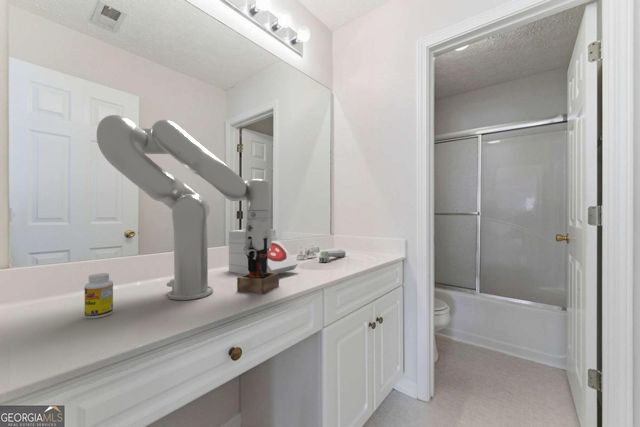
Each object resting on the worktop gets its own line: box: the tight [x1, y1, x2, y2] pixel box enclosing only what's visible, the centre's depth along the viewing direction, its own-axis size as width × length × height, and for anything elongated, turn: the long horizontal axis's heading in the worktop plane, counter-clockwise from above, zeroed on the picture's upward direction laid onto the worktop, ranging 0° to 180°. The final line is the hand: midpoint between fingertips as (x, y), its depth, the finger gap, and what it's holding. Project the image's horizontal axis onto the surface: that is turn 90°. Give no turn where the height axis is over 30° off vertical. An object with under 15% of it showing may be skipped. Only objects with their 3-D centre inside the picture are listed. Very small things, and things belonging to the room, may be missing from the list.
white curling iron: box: [318, 249, 346, 263], centre depth 149 cm, size 5×7×25 cm
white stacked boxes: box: [228, 229, 299, 275], centre depth 118 cm, size 19×30×18 cm, turn 52°
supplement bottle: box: [84, 272, 114, 320], centre depth 68 cm, size 6×6×10 cm
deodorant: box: [249, 238, 267, 279], centre depth 91 cm, size 6×6×15 cm
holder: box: [236, 272, 280, 295], centre depth 91 cm, size 10×10×4 cm
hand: (258, 268), depth 91 cm, fingers closed on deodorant, 5 cm apart
